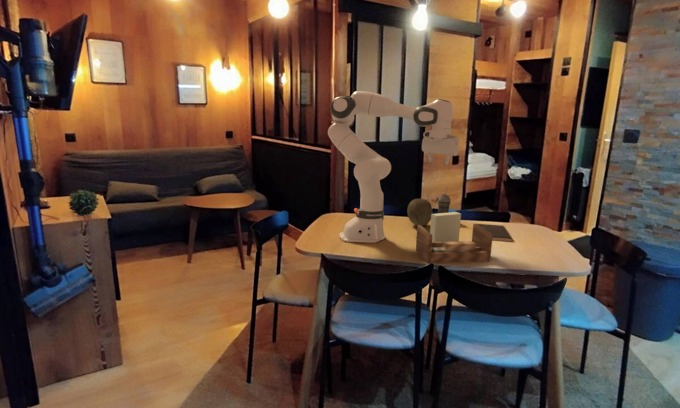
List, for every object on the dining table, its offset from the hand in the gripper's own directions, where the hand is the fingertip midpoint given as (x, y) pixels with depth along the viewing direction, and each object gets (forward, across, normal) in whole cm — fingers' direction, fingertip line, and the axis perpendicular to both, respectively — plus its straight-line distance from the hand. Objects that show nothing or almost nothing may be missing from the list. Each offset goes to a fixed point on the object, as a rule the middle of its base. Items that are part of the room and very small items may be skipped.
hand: (438, 162), depth 197 cm
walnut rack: (+36, -25, +16) cm, 47 cm away
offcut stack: (+37, -29, +19) cm, 50 cm away
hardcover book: (+37, -15, -29) cm, 49 cm away
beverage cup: (+37, +15, -26) cm, 48 cm away
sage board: (+37, -11, +4) cm, 38 cm away
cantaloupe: (+37, +16, -7) cm, 41 cm away
